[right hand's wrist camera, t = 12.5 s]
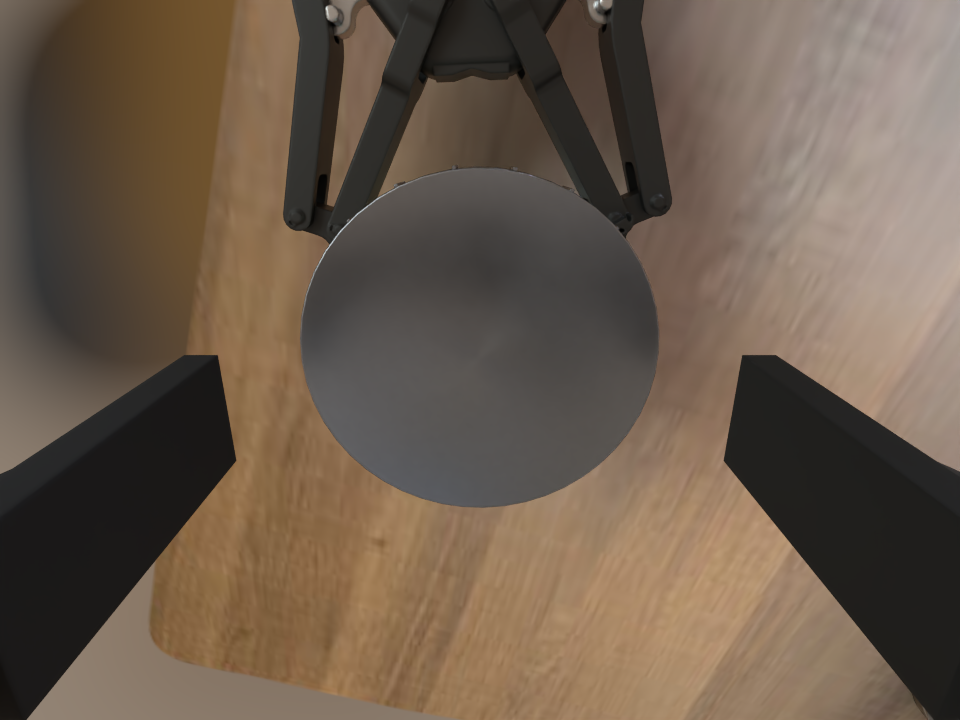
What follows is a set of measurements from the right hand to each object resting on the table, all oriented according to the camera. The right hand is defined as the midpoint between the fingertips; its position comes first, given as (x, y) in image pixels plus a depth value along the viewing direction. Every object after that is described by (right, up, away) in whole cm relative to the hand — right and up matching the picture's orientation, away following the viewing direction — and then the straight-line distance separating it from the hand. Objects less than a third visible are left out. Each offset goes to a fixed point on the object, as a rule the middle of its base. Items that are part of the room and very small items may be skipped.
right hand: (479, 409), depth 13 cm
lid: (0, +1, +4) cm, 4 cm away
